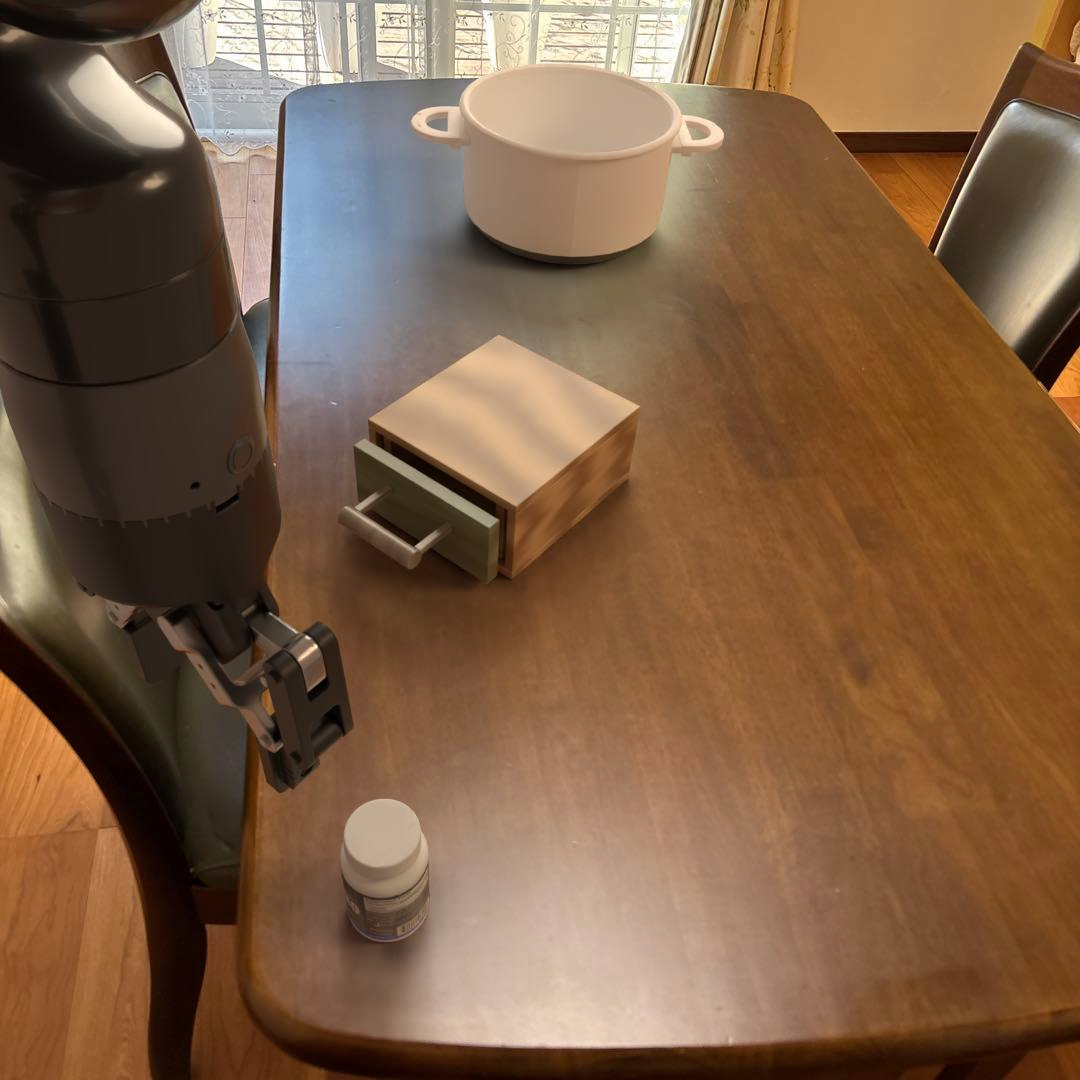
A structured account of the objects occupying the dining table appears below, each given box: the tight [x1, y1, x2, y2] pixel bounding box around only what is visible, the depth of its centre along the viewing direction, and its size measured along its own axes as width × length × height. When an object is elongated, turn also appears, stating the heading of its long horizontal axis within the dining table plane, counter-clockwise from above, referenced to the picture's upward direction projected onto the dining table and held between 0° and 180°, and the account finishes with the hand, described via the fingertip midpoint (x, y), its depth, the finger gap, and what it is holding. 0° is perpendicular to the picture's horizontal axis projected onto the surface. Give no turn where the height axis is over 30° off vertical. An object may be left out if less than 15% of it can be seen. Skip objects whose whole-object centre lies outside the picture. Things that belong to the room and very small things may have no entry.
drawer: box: [336, 436, 508, 585], centre depth 79 cm, size 20×13×6 cm
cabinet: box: [367, 334, 641, 581], centre depth 82 cm, size 16×15×8 cm
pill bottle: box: [339, 798, 431, 943], centre depth 56 cm, size 5×5×8 cm
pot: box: [410, 63, 725, 265], centre depth 111 cm, size 33×23×14 cm
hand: (227, 720), depth 45 cm, fingers open, 8 cm apart
